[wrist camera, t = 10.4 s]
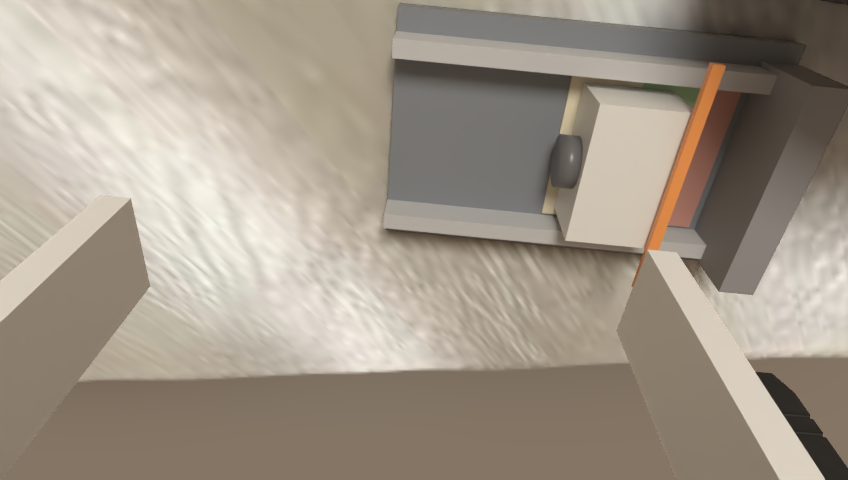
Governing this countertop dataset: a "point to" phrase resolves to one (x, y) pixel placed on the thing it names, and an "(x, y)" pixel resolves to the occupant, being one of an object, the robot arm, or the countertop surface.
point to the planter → (838, 1)
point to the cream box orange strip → (627, 162)
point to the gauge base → (556, 112)
